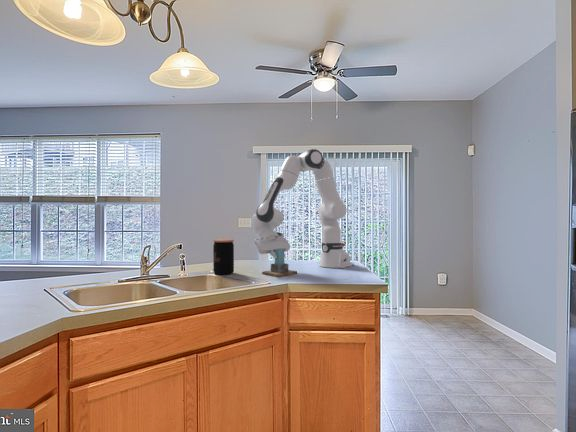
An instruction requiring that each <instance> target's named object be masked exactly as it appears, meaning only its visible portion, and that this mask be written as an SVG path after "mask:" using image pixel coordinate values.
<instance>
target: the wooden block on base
mask: <svg viewBox="0 0 576 432" xmlns="http://www.w3.org/2000/svg"><path fill="white" fill-rule="evenodd" d="M261 274H262V275H265V276H270V277H274V278H279V277H286V276H292V275H297V274H298V272H297V270H291V269H289V263H285V262H284V265H275V262H274V263H270V270H264V271H262V272H261Z"/></svg>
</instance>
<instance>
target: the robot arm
mask: <svg viewBox="0 0 576 432" xmlns="http://www.w3.org/2000/svg"><path fill="white" fill-rule="evenodd" d="M308 171H311V172H312V173H313V175H314V180H315V184H316V189H317V194H318V196H320V198H321V201H322V203H320V204H319V205H318V207H317V213H318V215H319V219H320V224H321V230H322V234H321V236H322V237H321V238H322V240H321V245H320V247H321V251H320V259H319V260H320V261H319V262H318V264H319V267H322V268H327V269H329V268H331V269H332V268H333V269H335V268H340V269H341V268H342V269H344V268H348V267H352V266H354V265H355V263H354V262H351V257H350V254H349V253H348V252H346V251H345V250H344V247H346V243H345V242H342V239H341V238H342V237H341V236H342V235H341V234H342V233H341V232H342V230H341V227H340V224H339V221H338V220H340V219H342V218H344V217H345V216H346V215H347V206H346V205H345V203H344V202H343V201H342V199H341V196H340V194H339V192H338V190H337V184H336V182H335V177H334V173H333V170H332V167H331V164H330V162H329V161H328V160H325V158H324V155H323V154H322V153H321V151H320V150H318V149H316V148H312V149H309V150H305V151H304V152H302V153H300V154H298V155H297V156H296V155H288V156H286V158H285V159H284V161H283V163H282V165H281V167H280V170H279V172H278V175H277V176H276V177H275V178H274V179H273V181H272V182H271V183H270V185H269V188H268V190H267V192H266V194H265V195H264V198H263V200H262V201H261V203H259V205H258V206H257V209H256V212H255V213H254V215H252V217H251V220H250V221H251V223H250V224H251V226H252V229H253V230H254V232H255V233H256V234H257V237H258V238H255V239H254V244H255V245H256V249H257V252H258V253H259V254H260V255H267V254H269V255H270V256H271V257H273V258H274V260H275V259H277V258H278V255H277V254H275V250H277V249H282V250H284V259H285V258H286V254H285V252H289V250H290V248H291V245H290V242H289V241H288V240H287V238H286V237H284V233H282V232H278V231H275V229H277V228H278V227H280V226H281V225H282V224H283V222H284V219H285V218H284V216H285V215H284V213H283V212H282V211H281V210H279V209H277V208H276V207H275V203H276V201H277V199H278V197H279V194H280V193H281V192H282V191H283V190H285V191H287V190H291V189H293V188H294V187H295V186H296V184H297V182H298V179H299V177H300V173H301V172H303V173H304V172H308Z"/></svg>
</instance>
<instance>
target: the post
mask: <svg viewBox="0 0 576 432" xmlns="http://www.w3.org/2000/svg"><path fill="white" fill-rule="evenodd" d="M275 254H277V255H278V258H277V259H274V263H275V265H284V263H285V258H284V254H285V252H284V250H282V249H277V250H275Z"/></svg>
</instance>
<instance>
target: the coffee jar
mask: <svg viewBox="0 0 576 432" xmlns="http://www.w3.org/2000/svg"><path fill="white" fill-rule="evenodd" d="M234 247H235V243H234V239H233V238H218V239H217V238H216V239H213V252H212V253H213V259H212V260H213V274H215V276H228V275H233V273H234V272H235V271H234V270H235V262H234V260H235V254H234V253H235V251H234V249H235V248H234Z"/></svg>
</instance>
